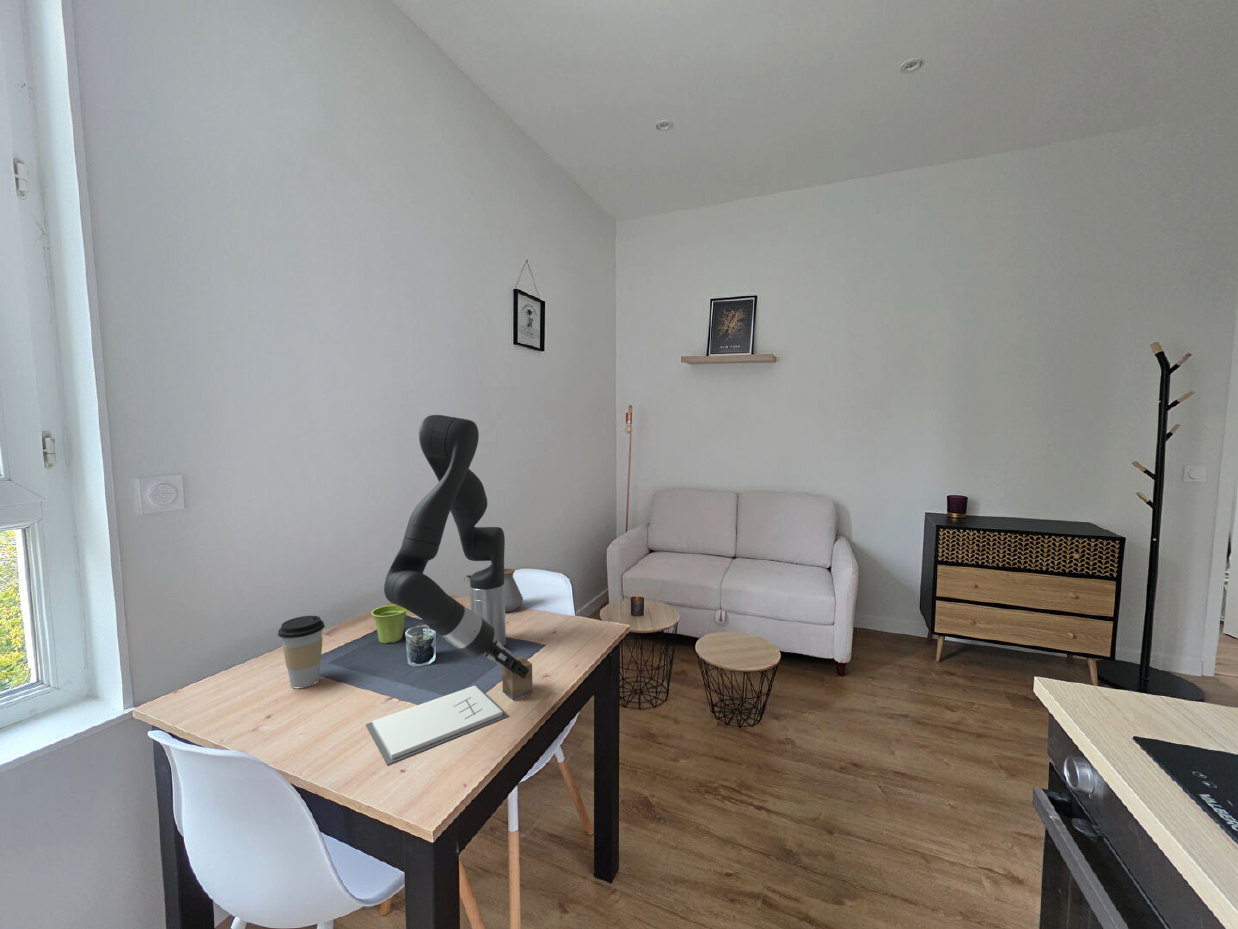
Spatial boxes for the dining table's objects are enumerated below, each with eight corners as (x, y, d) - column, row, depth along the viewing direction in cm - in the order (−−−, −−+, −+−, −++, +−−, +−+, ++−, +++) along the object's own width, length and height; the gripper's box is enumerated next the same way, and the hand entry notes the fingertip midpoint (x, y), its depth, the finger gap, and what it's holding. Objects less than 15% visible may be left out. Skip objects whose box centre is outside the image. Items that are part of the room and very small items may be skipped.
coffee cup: (336, 677, 123) (333, 617, 122) (297, 696, 114) (293, 632, 113) (311, 670, 127) (307, 612, 126) (271, 687, 118) (268, 625, 117)
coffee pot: (507, 600, 177) (506, 558, 176) (530, 607, 170) (529, 563, 169) (455, 619, 160) (454, 572, 159) (478, 627, 153) (476, 579, 152)
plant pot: (391, 630, 151) (390, 602, 151) (415, 635, 148) (414, 606, 147) (365, 643, 143) (363, 613, 142) (390, 648, 139) (388, 618, 138)
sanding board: (365, 725, 103) (365, 720, 103) (477, 686, 118) (477, 682, 118) (387, 765, 91) (387, 760, 91) (508, 716, 106) (508, 711, 106)
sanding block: (502, 692, 116) (501, 662, 115) (522, 685, 119) (521, 656, 118) (512, 701, 112) (512, 670, 111) (532, 693, 115) (532, 663, 115)
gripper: (493, 625, 103) (543, 663, 111) (465, 607, 114) (512, 642, 122) (469, 658, 100) (522, 694, 108) (442, 636, 111) (492, 670, 119)
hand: (517, 667), depth 115 cm, fingers open, 8 cm apart
